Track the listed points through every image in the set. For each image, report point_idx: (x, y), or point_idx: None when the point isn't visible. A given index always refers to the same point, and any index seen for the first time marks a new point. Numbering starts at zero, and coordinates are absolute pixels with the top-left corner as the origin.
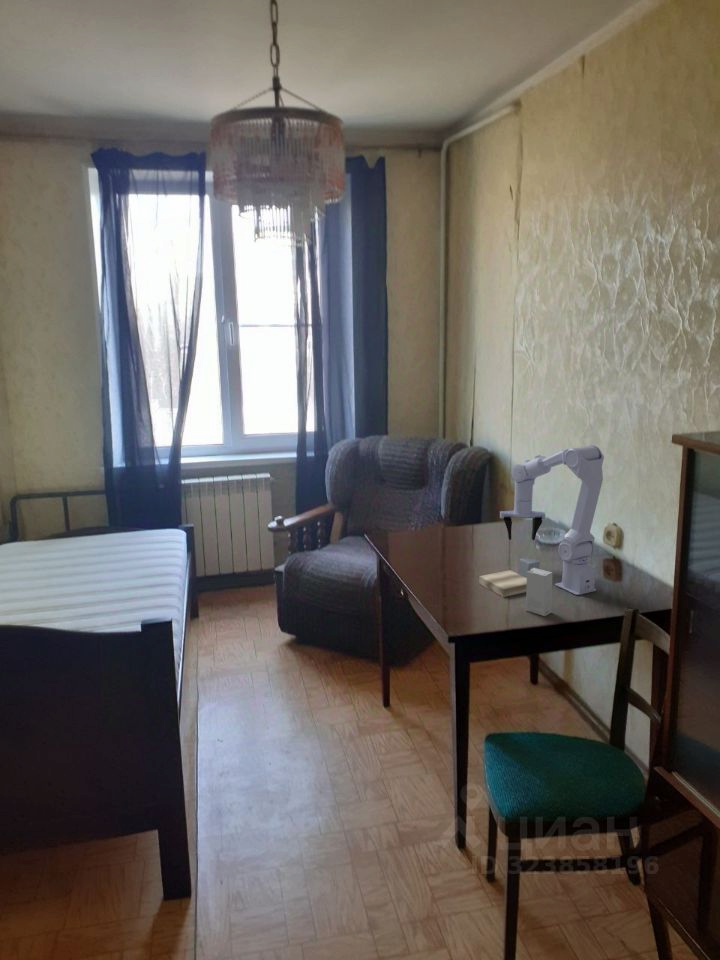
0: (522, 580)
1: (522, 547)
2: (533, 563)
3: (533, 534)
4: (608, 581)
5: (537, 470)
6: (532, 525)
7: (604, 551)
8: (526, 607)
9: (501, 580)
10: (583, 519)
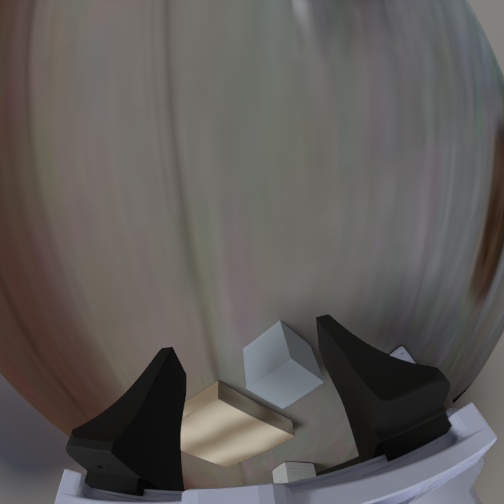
0: (263, 437)
1: (231, 17)
2: (300, 395)
3: (333, 381)
4: (467, 309)
5: None
6: (351, 364)
7: (492, 62)
8: (273, 475)
9: (211, 445)
10: None
